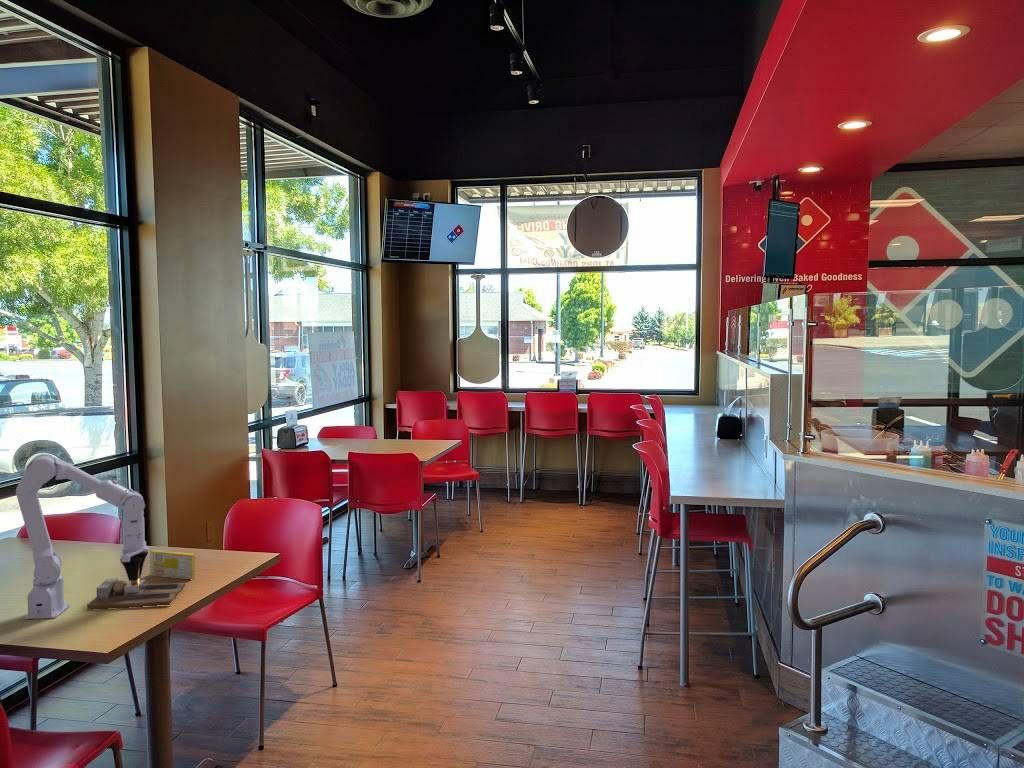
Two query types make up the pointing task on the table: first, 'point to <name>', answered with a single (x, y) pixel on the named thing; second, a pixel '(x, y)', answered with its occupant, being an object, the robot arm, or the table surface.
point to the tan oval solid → (119, 587)
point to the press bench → (134, 596)
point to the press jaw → (135, 586)
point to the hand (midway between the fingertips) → (134, 578)
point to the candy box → (172, 564)
